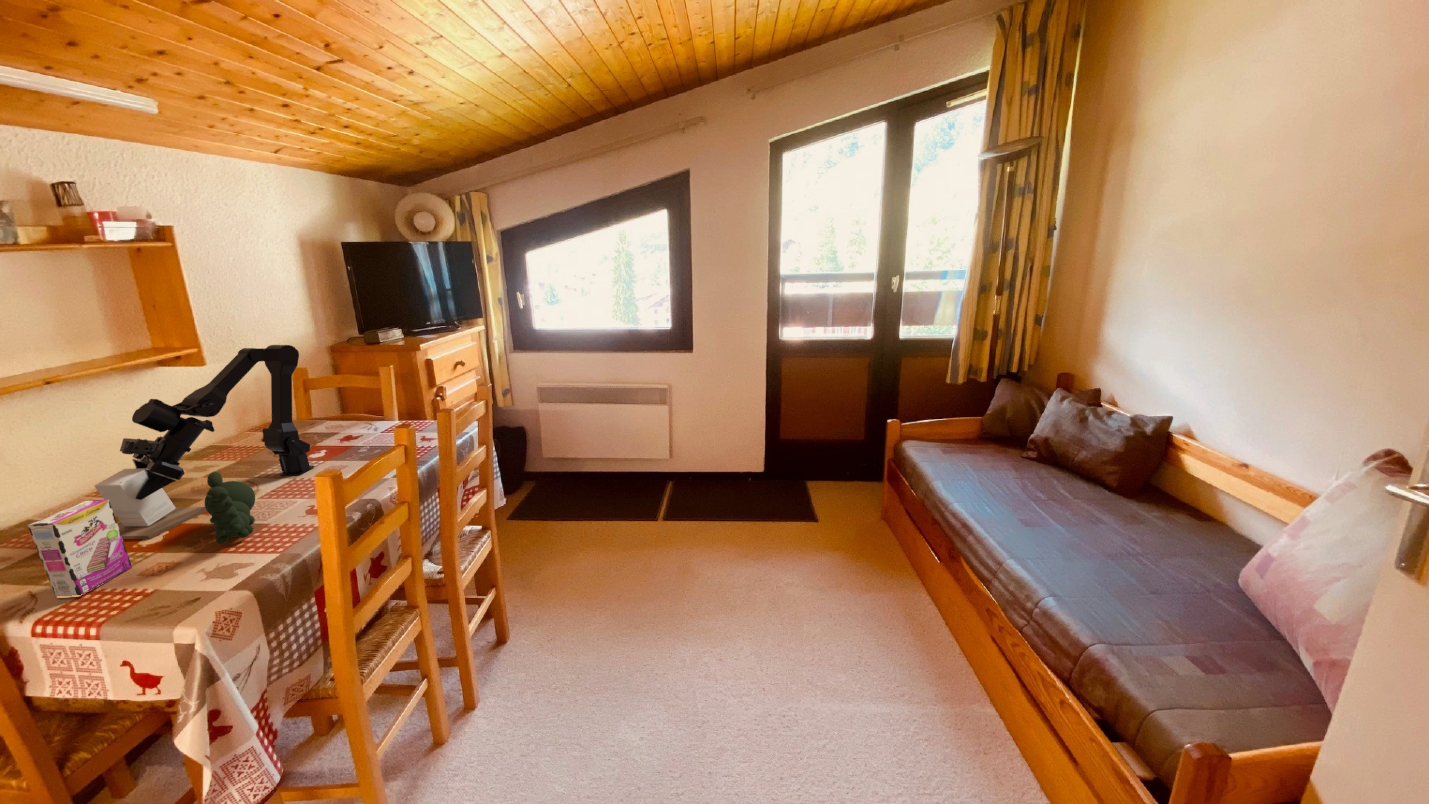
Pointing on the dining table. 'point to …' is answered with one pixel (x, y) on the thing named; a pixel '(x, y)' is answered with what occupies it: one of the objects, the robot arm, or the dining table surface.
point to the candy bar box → (80, 547)
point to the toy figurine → (229, 507)
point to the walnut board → (160, 523)
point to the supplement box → (134, 498)
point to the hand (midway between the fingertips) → (133, 494)
